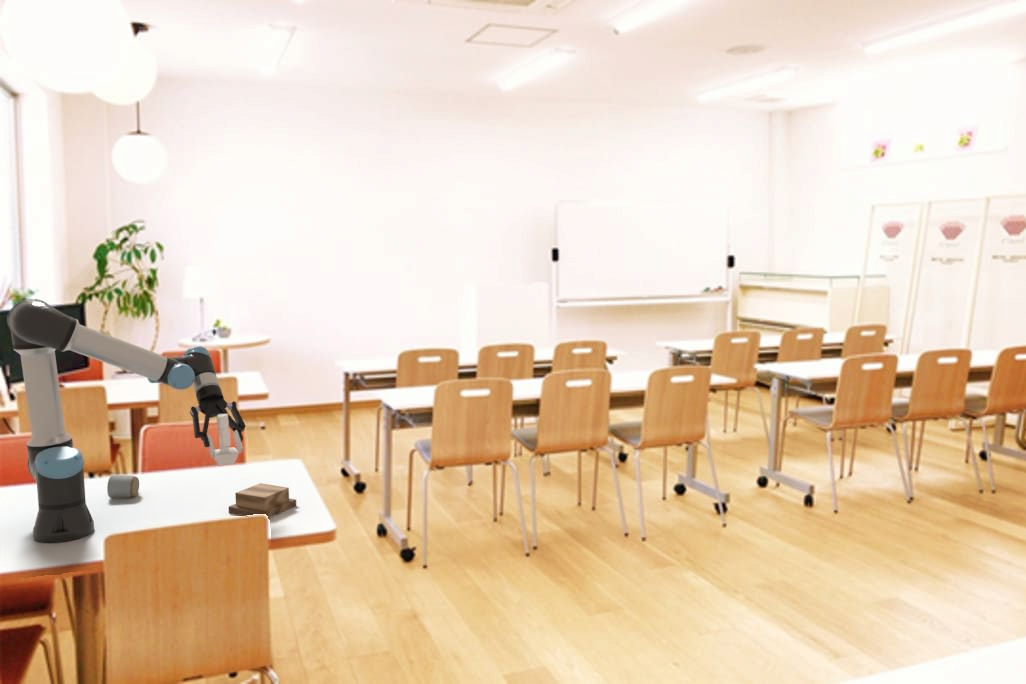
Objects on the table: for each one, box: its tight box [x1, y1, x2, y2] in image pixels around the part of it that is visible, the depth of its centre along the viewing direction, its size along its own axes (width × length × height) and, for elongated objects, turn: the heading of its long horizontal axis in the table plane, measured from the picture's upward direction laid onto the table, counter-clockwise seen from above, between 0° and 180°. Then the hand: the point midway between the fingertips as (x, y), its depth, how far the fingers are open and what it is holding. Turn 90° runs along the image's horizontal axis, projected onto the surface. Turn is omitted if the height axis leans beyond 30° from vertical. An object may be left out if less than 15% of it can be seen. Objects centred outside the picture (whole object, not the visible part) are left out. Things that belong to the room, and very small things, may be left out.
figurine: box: [213, 413, 240, 467], centre depth 257 cm, size 7×9×15 cm
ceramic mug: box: [106, 473, 140, 499], centre depth 273 cm, size 10×8×7 cm
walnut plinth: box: [228, 482, 297, 519], centre depth 260 cm, size 14×14×6 cm
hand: (227, 452), depth 254 cm, fingers closed on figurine, 7 cm apart
